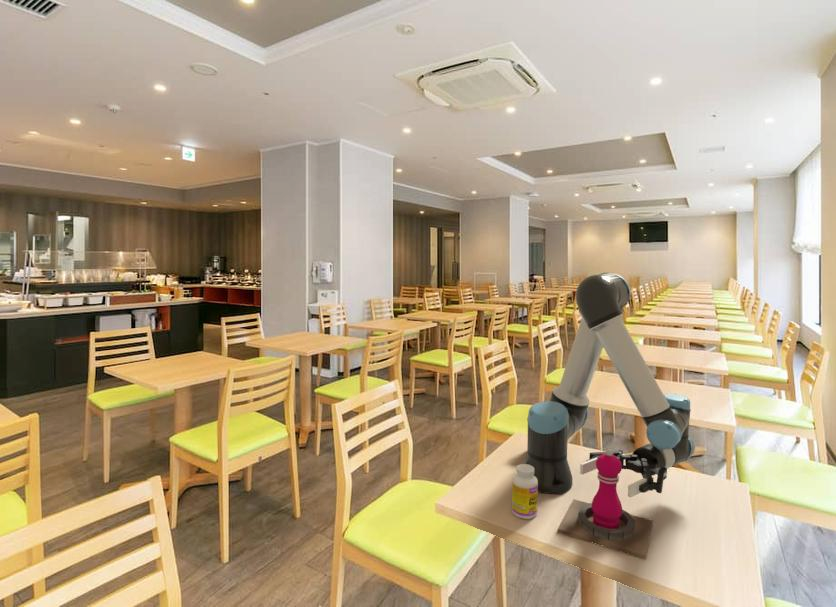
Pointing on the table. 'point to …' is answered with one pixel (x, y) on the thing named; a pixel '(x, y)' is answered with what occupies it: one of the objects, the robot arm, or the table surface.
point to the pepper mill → (607, 492)
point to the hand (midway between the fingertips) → (604, 479)
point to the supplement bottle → (524, 492)
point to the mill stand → (607, 530)
